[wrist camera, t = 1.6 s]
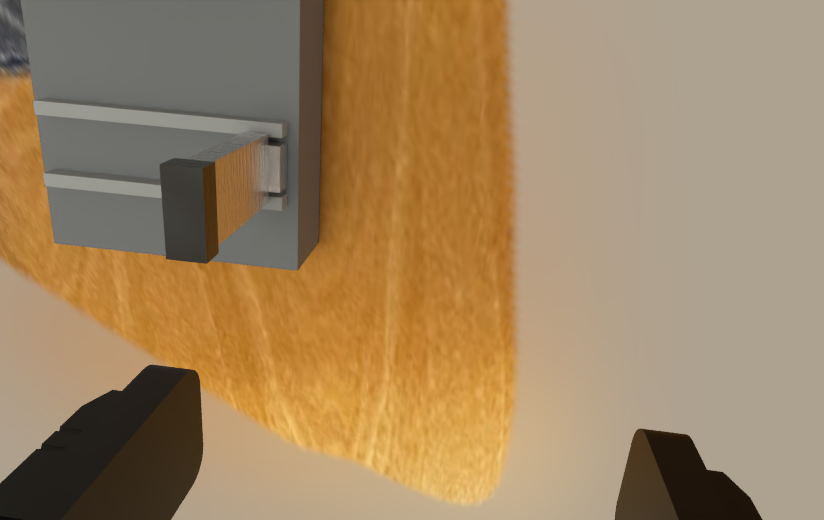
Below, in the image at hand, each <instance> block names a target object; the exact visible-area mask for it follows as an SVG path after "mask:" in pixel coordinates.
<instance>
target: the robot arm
mask: <svg viewBox="0 0 824 520" xmlns="http://www.w3.org/2000/svg"><path fill="white" fill-rule="evenodd" d="M202 455H203V432H202V413H201V392H200V379H199V376H198V373H197V372H196V371H195V370H190V369H182V368H174V367H167V366H159V365H149V366H147V367H146V368H145V369H143V370H142V371H141V372H140V373H139V374H138V375H137V376H136V377H135V378H134V379H133V380H132V381H131V383H130V384H128V385H127V387H126V388H125V389H124V390H123V391H117V390H112V391H110V392H108V393H106V394H104V395H102V396H100V397H98V398H96V399H94V400H93V401H91V402H89V403H87V404H85V405H83V406H82V407H80V408H79V410H77V411H76V412H75V413H74V414H73V415H72V416H71V417H70V418H69V419H68V420H67V421H66V422H65V423H64V424H63V425H62V426H60V430H59V431H55V432H54V433H53V434H52V435H51V436H50V437H49V438H48V439H47V440H46V441H45V442H44V443H42V446H41V449H36V450H35V451H34V452H33V453H32V454H31V455H30V456H29V457H28V458H27V459H26V460H25V461H23V462H22V464H20V465H19V466H18V467H17V468H16V469H15V470H14V471H13V472H12V473H11V474H10V475H9V476H8V477H7V478H6V479H5V480H4V481H2V482H1V483H0V520H171V519H172V517H173V515H174V514H175V512H176V511H177V509H178V508H179V506H180V504H181V503H182V501H183V500H184V498H185V496H186V495H187V493H188V492H189V490H190V489H191V487H192V485H193V484H194V482H195V480H196V477H197V475H198V472H199V469H200V465H201V461H202ZM615 520H762V518H761V516H760V515H759V513H758V511H757V510H756V507H755V506H754V504H753V502H752V500H751V498H750V497H749V496H748V495H747V494H746V493H745V492H744V491H742V490H741V489H740V488H739V487H738V486H737V485H736V484H735V483H734V482H733V481H732V480H731V479H730V478H729V477H728V476H727V475H726V474H724V473H723V472H718V471H711V470H707V469H706V467H705V465H704V463H703V461H702V459H701V457H700V455H699V453H698V451H697V449H696V447H695V445H694V443H693V441H692V439H691V438H690V437H689V436H688V435H686V434H677V433H670V432H662V431H654V430H646V429H638V430H637V431H636V432H635V434H634V437H633V440H632V443H631V448H630V452H629V456H628V460H627V464H626V468H625V472H624V476H623V480H622V485H621V488H620V493H619V497H618V501H617V506H616V512H615Z"/></svg>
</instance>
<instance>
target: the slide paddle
mask: <svg viewBox="0 0 824 520" xmlns="http://www.w3.org/2000/svg"><path fill="white" fill-rule="evenodd" d="M159 166H160V180H161V194H162V208H163V222H164V236H165V250H166V259H170V260H179V261H188V262H197V263H206V264H207V263H208V262H209V261H210V260H212V259H213V258H214V257H215V256H216V255H217V254H218V253H219V247H218V245H219V244H221V243H222V242H223V241H224V240H225V239H227V238H228V237H229V236H230V235H231V234H232V233H234V232H235V231H236V230H237V229H238V228H240V227H241V226H242V225H243V224H244V223H245V222H247V221H248V220H249V219H250V218H251V217H253V216H254V215H255V214H256V213H257V212H259V211H260V210H261V209H262V208H263V207H264V206H266V205H267V204H268V203H269V192H275V193H280V192H282V191H283V190H284V189H285V188H286V187H287V142H277V141H268V134H266V133H256V132H242V133H240V134H238V135H236V136H234V137H232V138H230V139H227V140H225V141H223V142H221V143H219V144H217V145H214V146H212V147H210V148H208V149H206V150H204V151H202V152H199V153H197V154H195V155H193V156H191V157H189V158H186V159H180V158H173V159H170V160H168V161H166V162H164V163H161V164H159Z"/></svg>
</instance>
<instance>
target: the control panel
mask: <svg viewBox="0 0 824 520" xmlns="http://www.w3.org/2000/svg"><path fill="white" fill-rule="evenodd" d="M21 6H22V13H23V20H24V27H25V35H26V42H27V49H28V56H29V63H30V70H31V78H32V85H33V92H34V99H35V100H33V105H34V112H35V114H36V115H37V121H38V128H39V135H40V142H41V149H42V156H43V164H44V171H45V173H43V176H44V183H45V186H47V192H48V200H49V207H50V214H51V221H52V228H53V235H54V243H57V244H66V245H75V246H84V247H93V248H101V249H110V250H119V251H128V252H137V253H146V254H155V255H163V256H166V250H165V236H164V222H163V208H162V194H161V180H160V166H159V164H161V163H164V162H166V161H168V160H170V159H173V158H180V159H186V158H189V157H191V156H193V155H195V154H197V153H199V152H202V151H204V150H206V149H208V148H210V147H212V146H214V145H217V144H219V143H221V142H223V141H225V140H227V139H230V138H232V137H234V136H236V135H238V134H240V133H242V132H256V133H266V134H268V141H277V142H287V187H286V188H285V189H284V190H283V191H282V192H280V193H275V192H269V203H268V204H267V205H266V206H264V207H263V208H262V209H261V210H260V211H259V212H257V213H256V214H255V215H254V216H253V217H251V218H250V219H249V220H248V221H247V222H245V223H244V224H243V225H242V226H241V227H240V228H238V229H237V230H236V231H235V232H234V233H232V234H231V235H230V236H229V237H228V238H227V239H225V240H224V241H223V242H222V243H221V244H219V245H218V247H219V253H218V254H217V255H216V256H215V257H214V258H213V259H212V260H210V261H217V262H226V263H234V264H243V265H252V266H261V267H270V268H279V269H288V270H297V271H298V269H299V268H300V267H301V265H302V264H303V263H304V261H305V260H306V259H307V257H308V256H309V255H310V253H311V252H312V251H313V249H314V248H315V247H316V245H317V244H318V243H319V199H320V154H321V110H322V65H323V20H324V0H21Z"/></svg>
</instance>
